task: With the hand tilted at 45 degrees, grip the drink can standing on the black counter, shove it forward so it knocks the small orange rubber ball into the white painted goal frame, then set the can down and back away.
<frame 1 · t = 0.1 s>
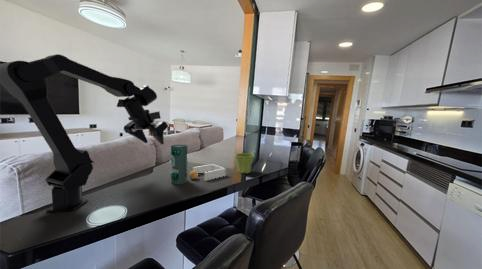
hand: (154, 143, 81), 15 cm above the breakfast bar, tool tilted 35°, fingers open, 9 cm apart
ball: (193, 178, 80), on the breakfast bar
goal: (208, 175, 85), on the breakfast bar
can: (179, 182, 76), on the breakfast bar
plant pot: (244, 172, 92), on the breakfast bar
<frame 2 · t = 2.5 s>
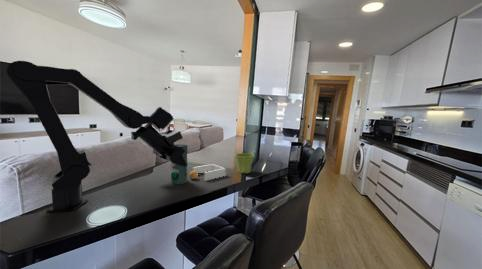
hand: (182, 164, 76), 7 cm above the breakfast bar, tool tilted 45°, fingers closed on can, 6 cm apart
can: (179, 182, 76), on the breakfast bar, touching gripper
everything else where it was.
when the fingers open (8 cm above the breakfast bar, at t = 5.6 s): can stays where it is, on the breakfast bar.
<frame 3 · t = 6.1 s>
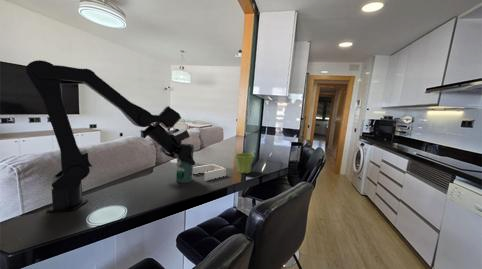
hand: (189, 162, 78), 8 cm above the breakfast bar, tool tilted 45°, fingers open, 9 cm apart
ball: (218, 175, 85), resting in goal, tilted 14°
can: (184, 180, 77), on the breakfast bar, touching gripper
everything else where it was.
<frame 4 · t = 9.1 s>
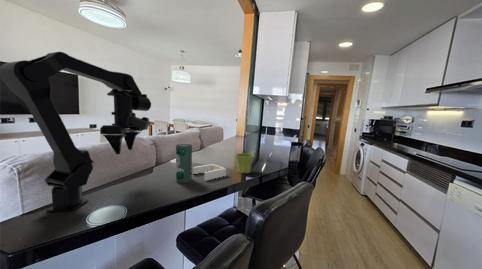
hand: (124, 151, 69), 13 cm above the breakfast bar, tool pointing down, fingers open, 9 cm apart
ball: (218, 175, 85), resting in goal, tilted 30°
can: (184, 181, 77), on the breakfast bar
everything else where it was.
at the end: ball 4.4 cm from the goal (horizontally); can tilted 0°; the gripper is holding nothing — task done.
